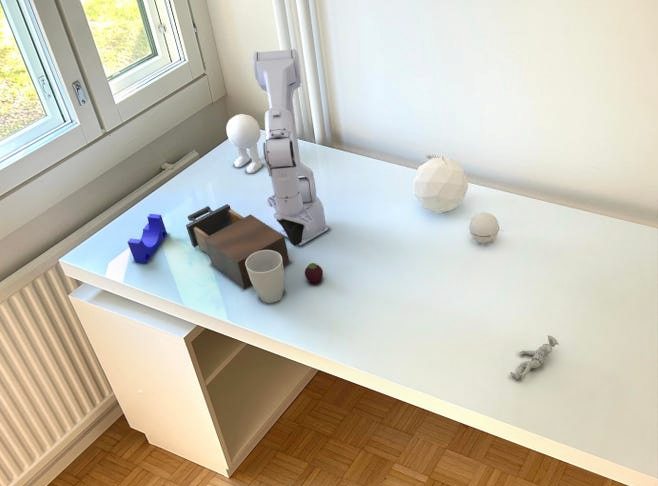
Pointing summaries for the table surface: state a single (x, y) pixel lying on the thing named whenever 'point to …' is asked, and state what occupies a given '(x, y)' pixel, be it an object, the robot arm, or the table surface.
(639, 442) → the table surface
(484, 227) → the grey rounded domed piece
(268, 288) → the cup
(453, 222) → the table surface
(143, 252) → the cable clip
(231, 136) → the toy character
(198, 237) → the drawer
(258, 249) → the cabinet
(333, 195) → the table surface
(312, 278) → the mangosteen
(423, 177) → the geodesic sphere
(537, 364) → the soldier figure
